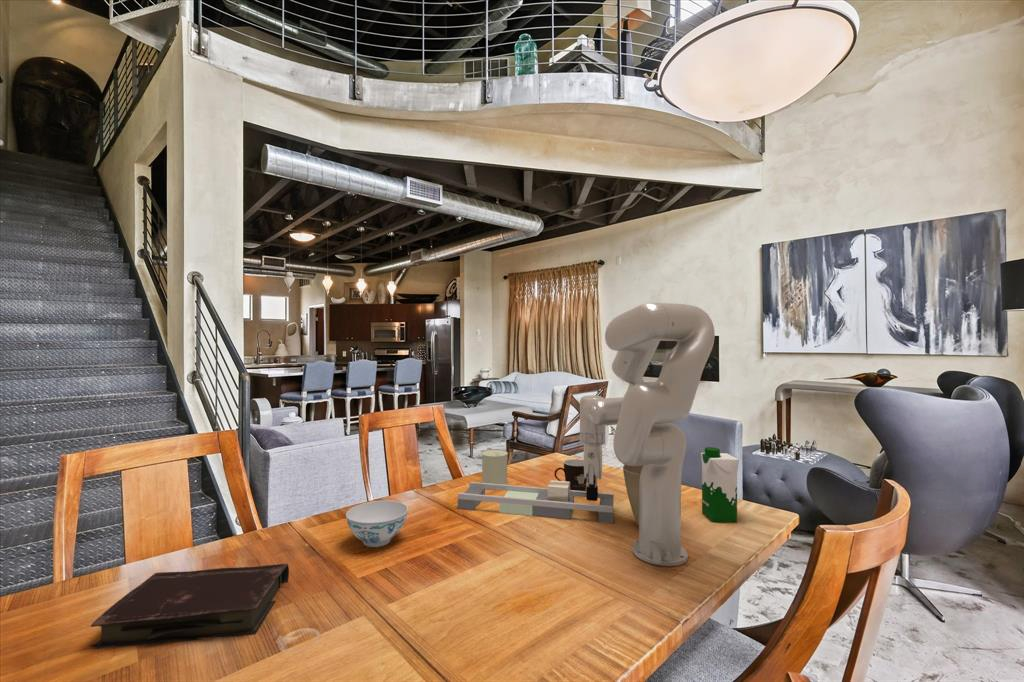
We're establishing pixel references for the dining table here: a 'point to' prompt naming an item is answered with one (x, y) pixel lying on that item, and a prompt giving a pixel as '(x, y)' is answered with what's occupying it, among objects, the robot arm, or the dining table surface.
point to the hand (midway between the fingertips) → (592, 499)
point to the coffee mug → (574, 474)
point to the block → (559, 491)
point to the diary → (192, 606)
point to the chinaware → (376, 521)
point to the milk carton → (719, 485)
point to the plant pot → (633, 487)
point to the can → (494, 467)
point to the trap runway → (534, 501)
